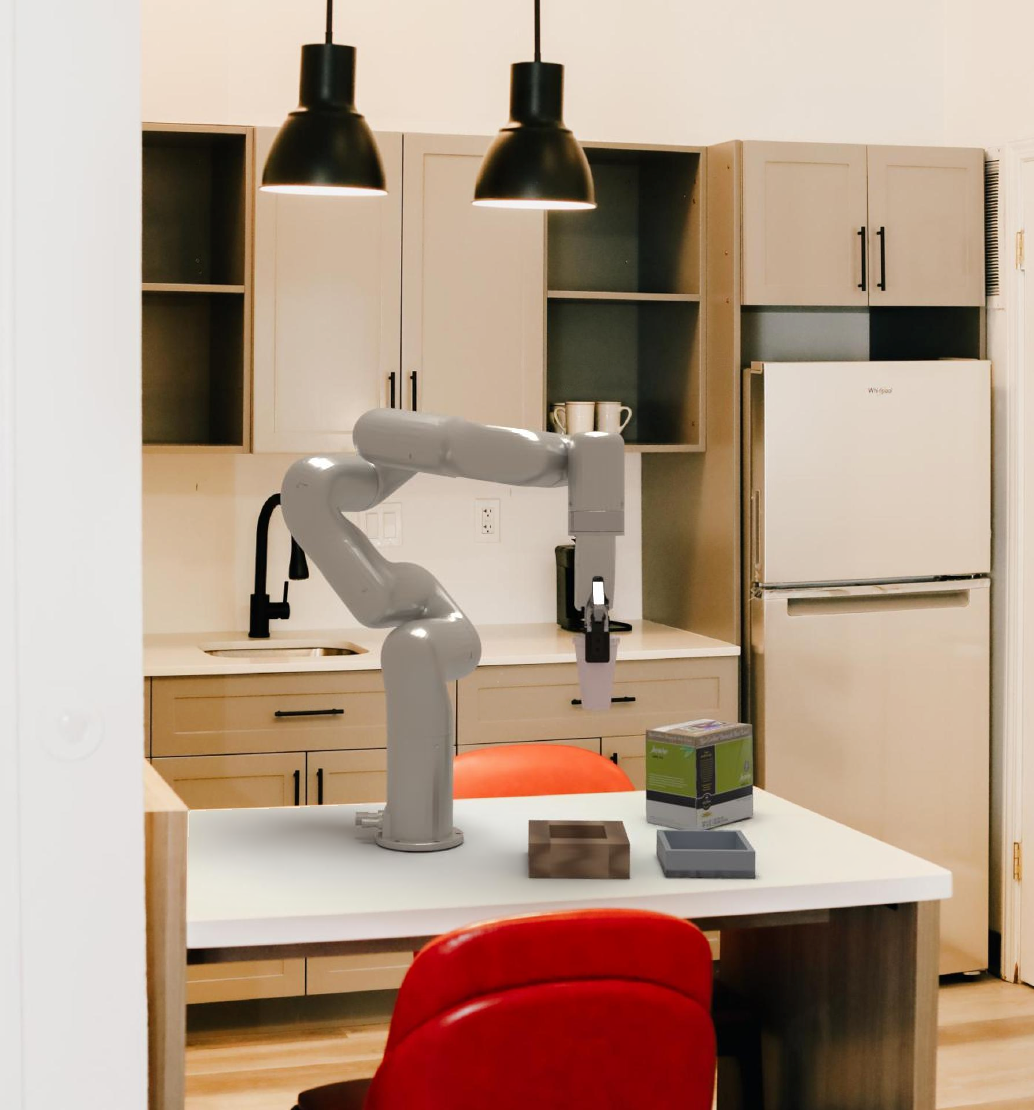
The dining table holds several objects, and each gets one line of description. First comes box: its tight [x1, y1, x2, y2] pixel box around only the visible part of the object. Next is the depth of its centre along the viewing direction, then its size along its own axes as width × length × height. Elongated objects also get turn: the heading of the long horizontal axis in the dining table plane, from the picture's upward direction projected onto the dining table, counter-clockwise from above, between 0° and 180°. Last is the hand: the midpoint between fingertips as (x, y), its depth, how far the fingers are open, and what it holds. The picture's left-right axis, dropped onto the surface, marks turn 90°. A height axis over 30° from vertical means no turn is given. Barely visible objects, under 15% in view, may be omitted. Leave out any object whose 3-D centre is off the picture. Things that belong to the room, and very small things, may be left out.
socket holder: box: [527, 819, 631, 880], centre depth 180 cm, size 13×13×4 cm
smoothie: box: [571, 633, 621, 711], centre depth 179 cm, size 6×6×14 cm
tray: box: [655, 829, 756, 879], centre depth 180 cm, size 12×12×4 cm
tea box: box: [645, 717, 754, 830], centre depth 207 cm, size 15×10×15 cm
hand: (596, 658), depth 179 cm, fingers closed on smoothie, 6 cm apart
